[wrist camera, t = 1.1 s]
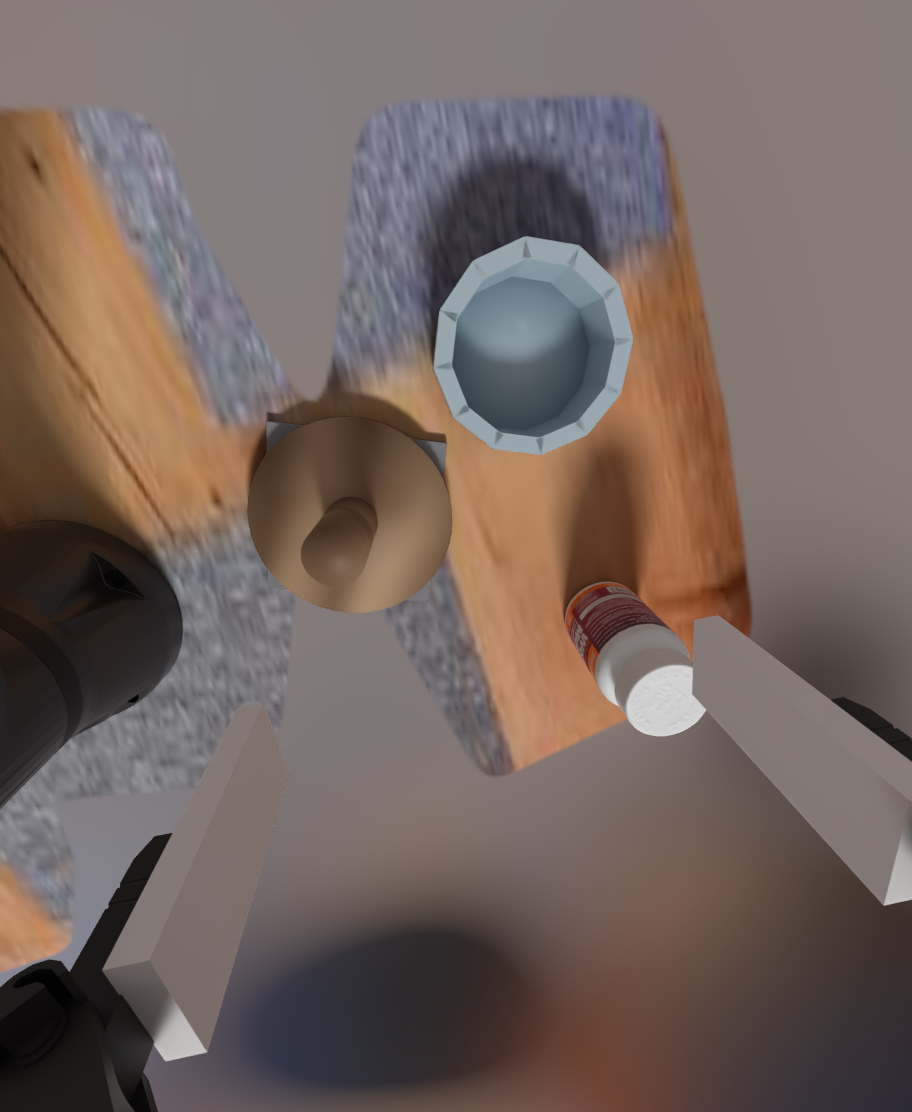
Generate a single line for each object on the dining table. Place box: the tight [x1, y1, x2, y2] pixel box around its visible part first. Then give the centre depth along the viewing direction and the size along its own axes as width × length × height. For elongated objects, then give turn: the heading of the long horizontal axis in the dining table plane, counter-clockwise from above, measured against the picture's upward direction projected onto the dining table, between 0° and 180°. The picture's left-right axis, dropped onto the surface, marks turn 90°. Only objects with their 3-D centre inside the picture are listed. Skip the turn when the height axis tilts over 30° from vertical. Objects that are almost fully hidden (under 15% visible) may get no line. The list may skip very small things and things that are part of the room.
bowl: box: [432, 236, 633, 455], centre depth 29 cm, size 11×11×5 cm
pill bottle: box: [565, 582, 706, 736], centre depth 33 cm, size 6×6×11 cm
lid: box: [248, 417, 452, 613], centre depth 30 cm, size 14×14×8 cm
